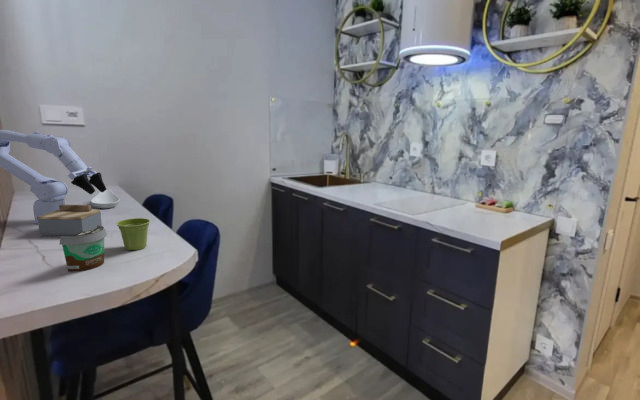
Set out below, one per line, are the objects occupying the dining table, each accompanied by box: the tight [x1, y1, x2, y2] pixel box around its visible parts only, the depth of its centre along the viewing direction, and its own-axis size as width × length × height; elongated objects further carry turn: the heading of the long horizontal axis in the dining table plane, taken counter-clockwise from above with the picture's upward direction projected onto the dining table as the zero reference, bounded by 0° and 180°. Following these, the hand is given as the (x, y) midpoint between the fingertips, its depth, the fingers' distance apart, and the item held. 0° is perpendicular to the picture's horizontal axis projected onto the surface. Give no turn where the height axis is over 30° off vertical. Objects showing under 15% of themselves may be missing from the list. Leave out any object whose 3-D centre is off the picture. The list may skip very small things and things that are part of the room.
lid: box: [38, 204, 101, 220], centre depth 120 cm, size 14×12×3 cm
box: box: [37, 211, 103, 237], centre depth 121 cm, size 14×12×6 cm
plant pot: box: [116, 217, 151, 251], centre depth 107 cm, size 9×9×9 cm
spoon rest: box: [90, 188, 121, 210], centre depth 163 cm, size 24×12×7 cm, turn 30°
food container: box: [59, 225, 108, 272], centre depth 92 cm, size 12×6×10 cm, turn 168°
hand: (98, 191), depth 130 cm, fingers open, 7 cm apart
